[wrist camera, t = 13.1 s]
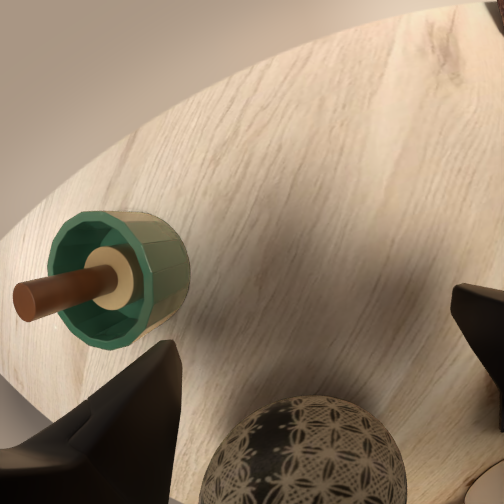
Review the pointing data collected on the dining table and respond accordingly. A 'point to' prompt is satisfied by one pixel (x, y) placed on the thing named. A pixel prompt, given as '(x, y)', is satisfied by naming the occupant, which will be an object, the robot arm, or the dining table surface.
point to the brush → (84, 285)
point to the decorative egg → (307, 457)
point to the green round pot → (152, 265)
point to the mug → (488, 487)
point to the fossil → (501, 8)
